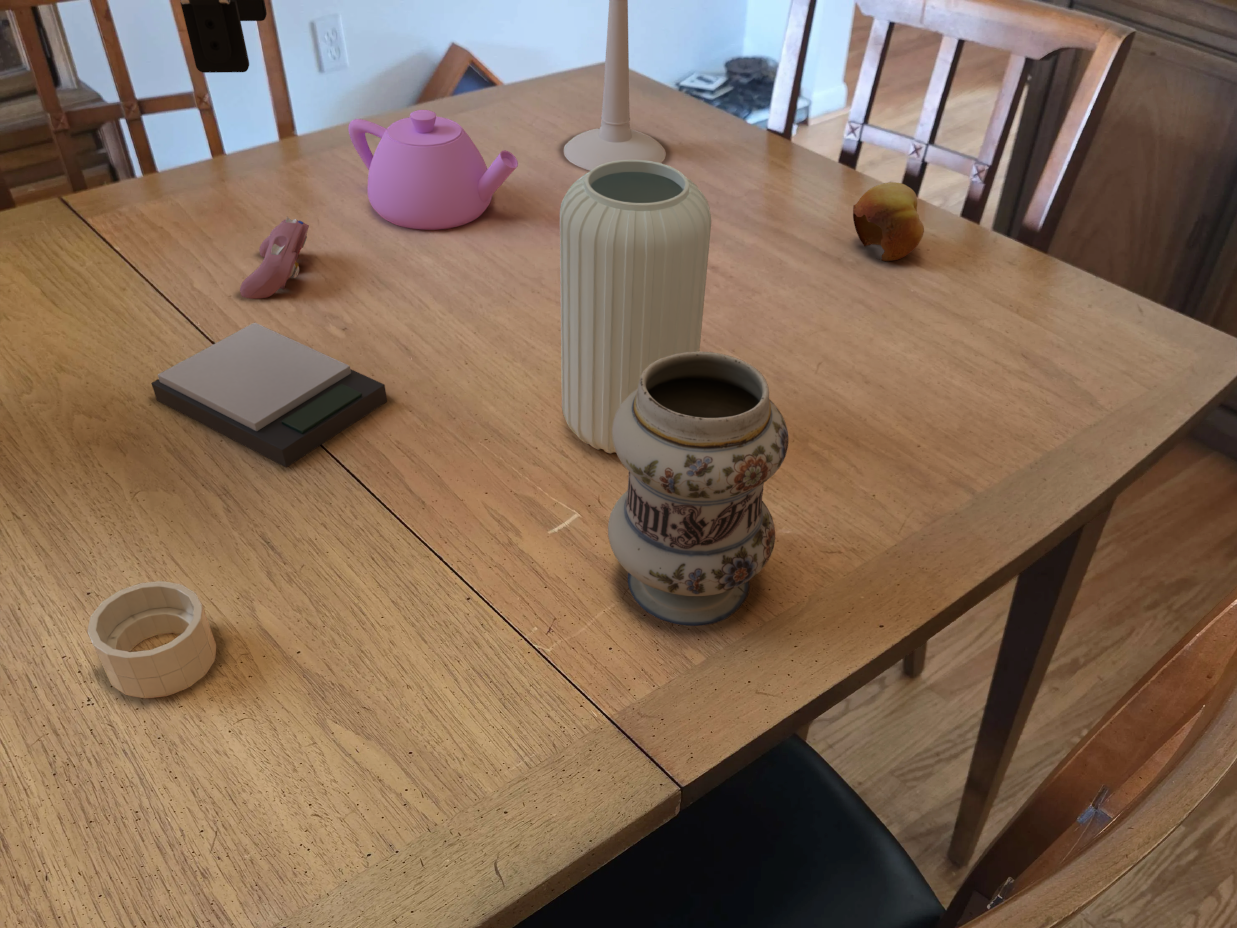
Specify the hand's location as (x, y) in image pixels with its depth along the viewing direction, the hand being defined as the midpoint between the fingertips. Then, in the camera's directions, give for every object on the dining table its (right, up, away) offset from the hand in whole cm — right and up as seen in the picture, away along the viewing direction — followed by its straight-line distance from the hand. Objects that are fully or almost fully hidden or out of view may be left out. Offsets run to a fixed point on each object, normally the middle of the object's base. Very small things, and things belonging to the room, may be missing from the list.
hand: (234, 44), depth 73 cm
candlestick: (+24, +20, +64) cm, 72 cm away
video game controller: (-10, -3, +40) cm, 41 cm away
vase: (+26, -21, +24) cm, 41 cm away
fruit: (+54, +3, +49) cm, 73 cm away
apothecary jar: (+30, -36, +10) cm, 48 cm away
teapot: (+4, +9, +52) cm, 53 cm away
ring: (-6, -41, +3) cm, 42 cm away
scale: (-5, -19, +24) cm, 31 cm away
